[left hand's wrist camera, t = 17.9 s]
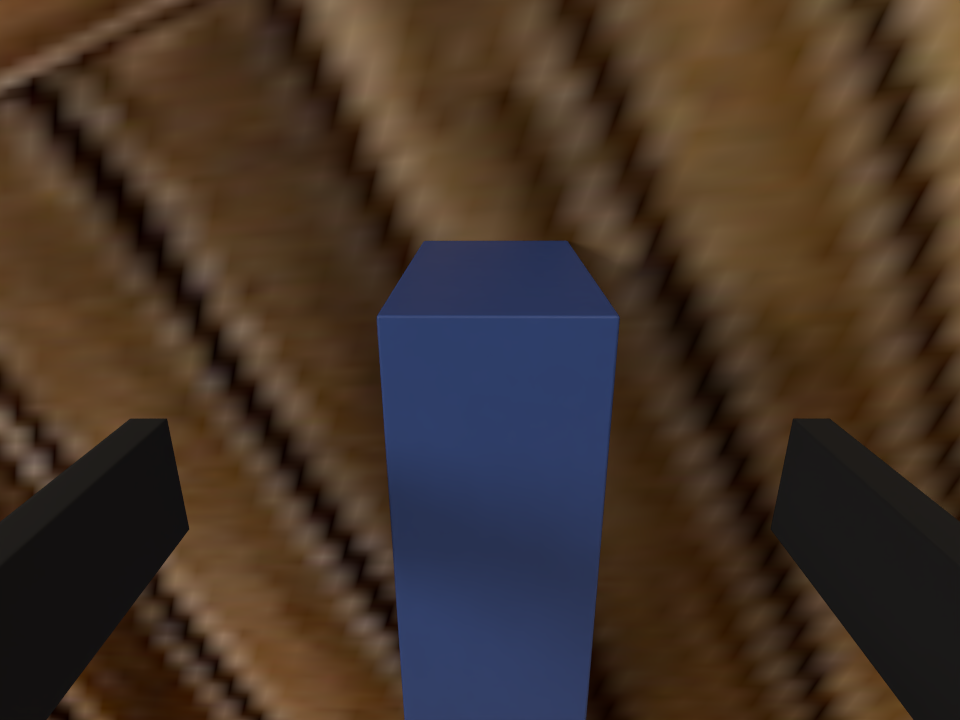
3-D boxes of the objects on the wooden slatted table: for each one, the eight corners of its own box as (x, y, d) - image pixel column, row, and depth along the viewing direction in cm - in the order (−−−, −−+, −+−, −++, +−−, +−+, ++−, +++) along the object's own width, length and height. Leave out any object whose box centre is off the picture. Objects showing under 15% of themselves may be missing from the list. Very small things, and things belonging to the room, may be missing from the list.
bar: (423, 240, 20) (376, 315, 12) (567, 240, 20) (620, 316, 12) (441, 720, 28) (420, 960, 20) (544, 722, 28) (565, 964, 20)
